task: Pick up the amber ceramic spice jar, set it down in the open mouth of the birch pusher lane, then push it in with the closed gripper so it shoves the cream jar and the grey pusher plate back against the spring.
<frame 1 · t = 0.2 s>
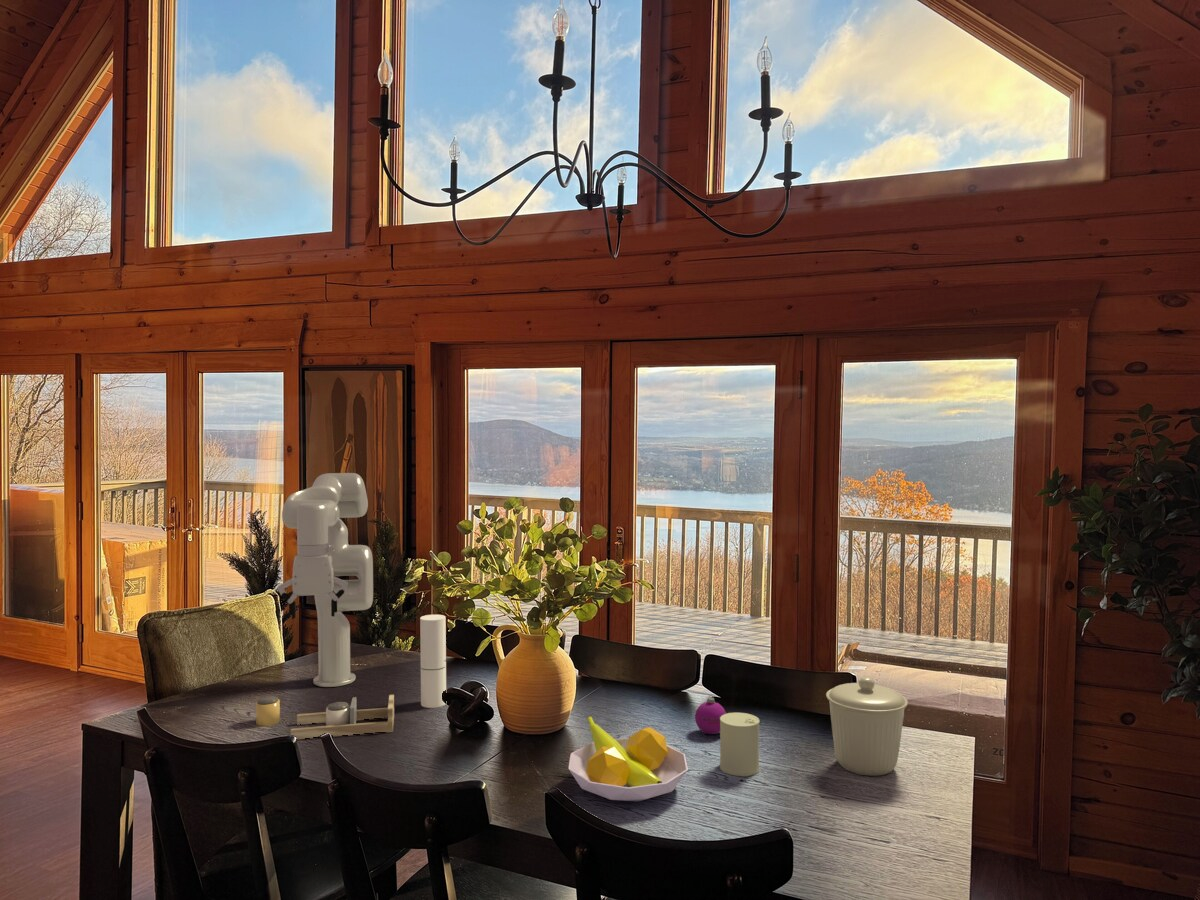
hand: (313, 616, 212), 31 cm above the table, fingers open, 9 cm apart
amber jar: (268, 722, 221), on the table
lane: (346, 727, 217), on the table
can: (739, 768, 191), on the table
cream jar: (338, 728, 217), on the table
fruit bowl: (626, 786, 182), on the table
cylindrical container: (433, 704, 236), on the table
christmas ornament: (710, 734, 213), on the table
canister: (865, 768, 191), on the table
pusher: (353, 713, 217), point 3 cm above the table, slide at 0.0 cm
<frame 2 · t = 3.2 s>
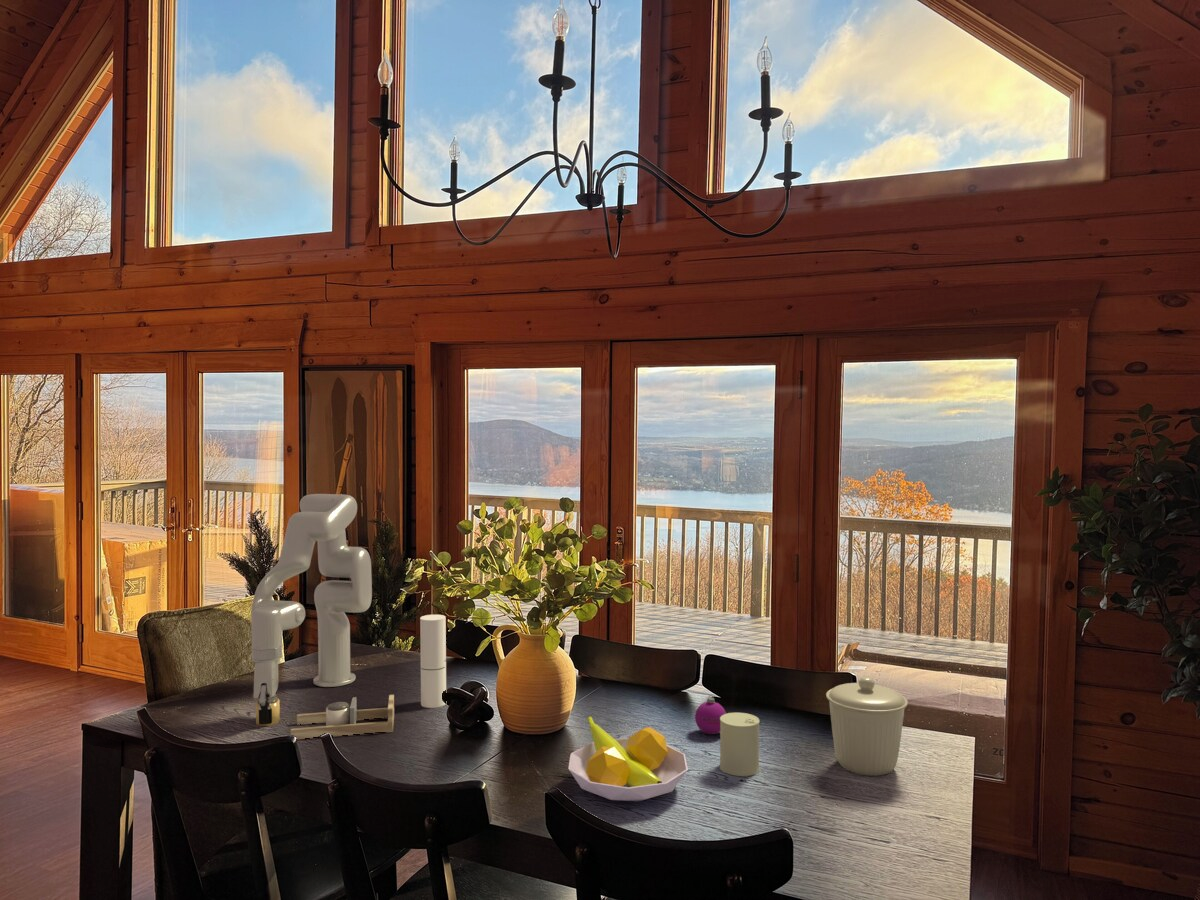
hand: (267, 718, 221), 1 cm above the table, fingers closed on amber jar, 6 cm apart
amber jar: (267, 721, 221), on the table, touching gripper
everything else where it was.
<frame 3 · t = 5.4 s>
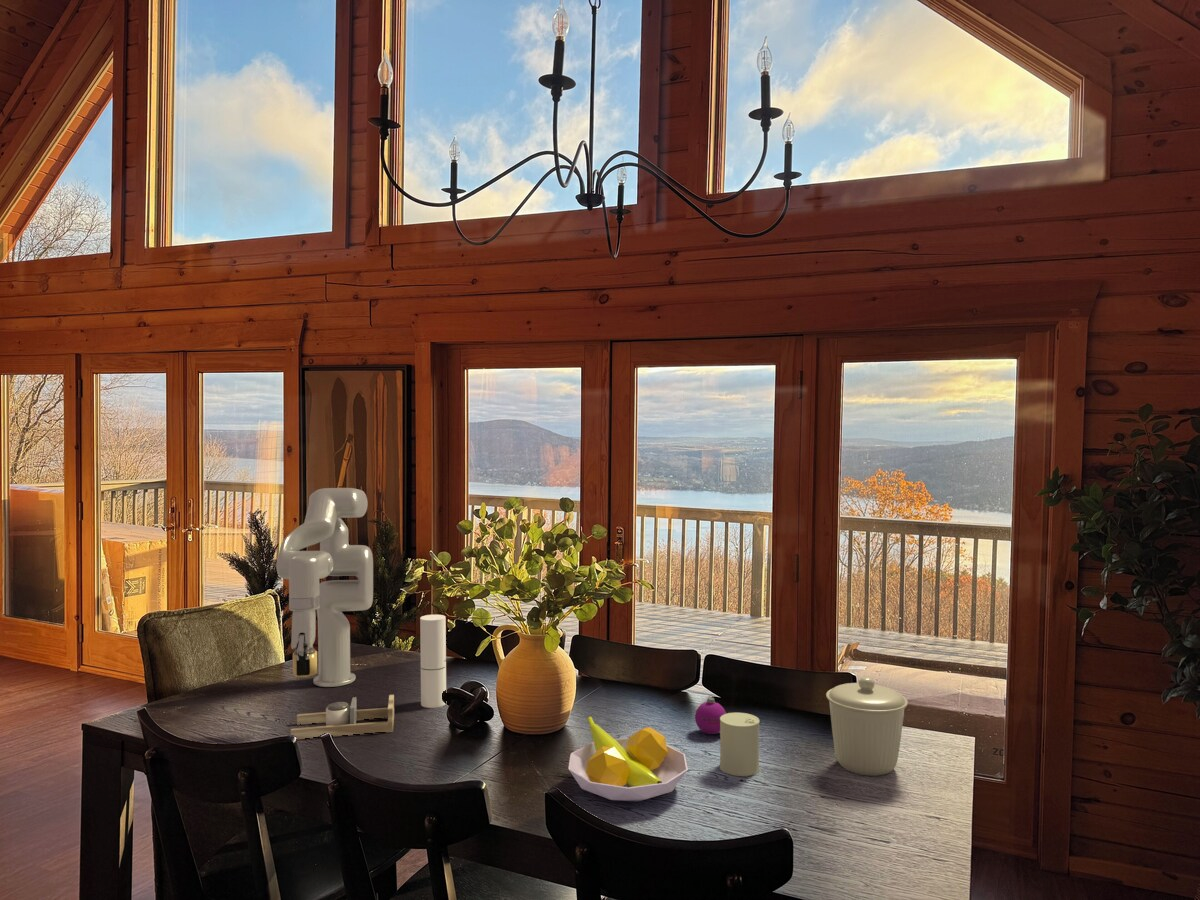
hand: (305, 670, 215), 16 cm above the table, fingers closed on amber jar, 6 cm apart
amber jar: (305, 673, 215), point 15 cm above the table, touching gripper
everything else where it was.
when the fingers open (3 cm above the table, at t = 7.4 s): amber jar drops 2 cm, on the table.
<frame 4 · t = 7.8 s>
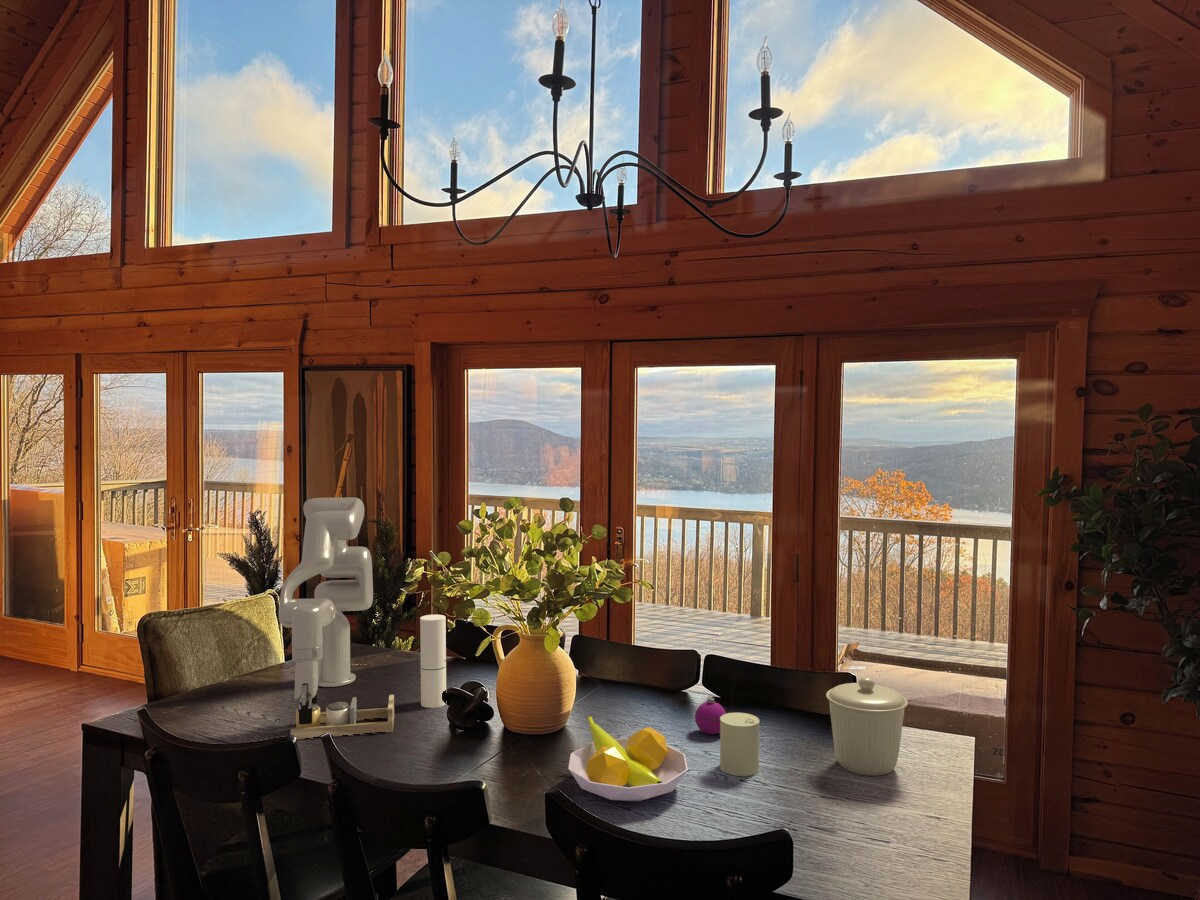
hand: (308, 717, 215), 3 cm above the table, fingers open, 9 cm apart
amber jar: (308, 730, 215), on the table
everything else where it was.
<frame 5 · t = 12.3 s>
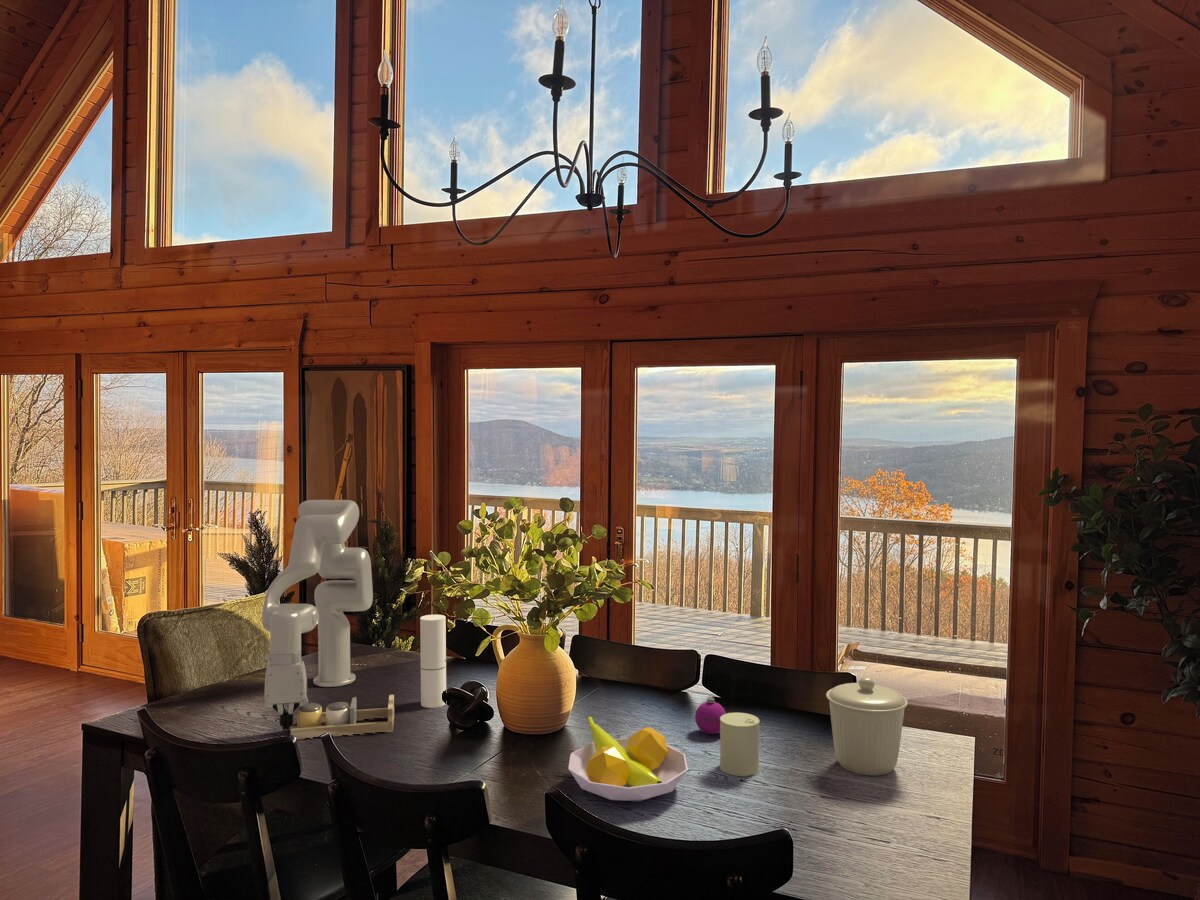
hand: (286, 727, 214), 1 cm above the table, fingers closed
amber jar: (309, 729, 215), on the table, touching gripper
everything else where it was.
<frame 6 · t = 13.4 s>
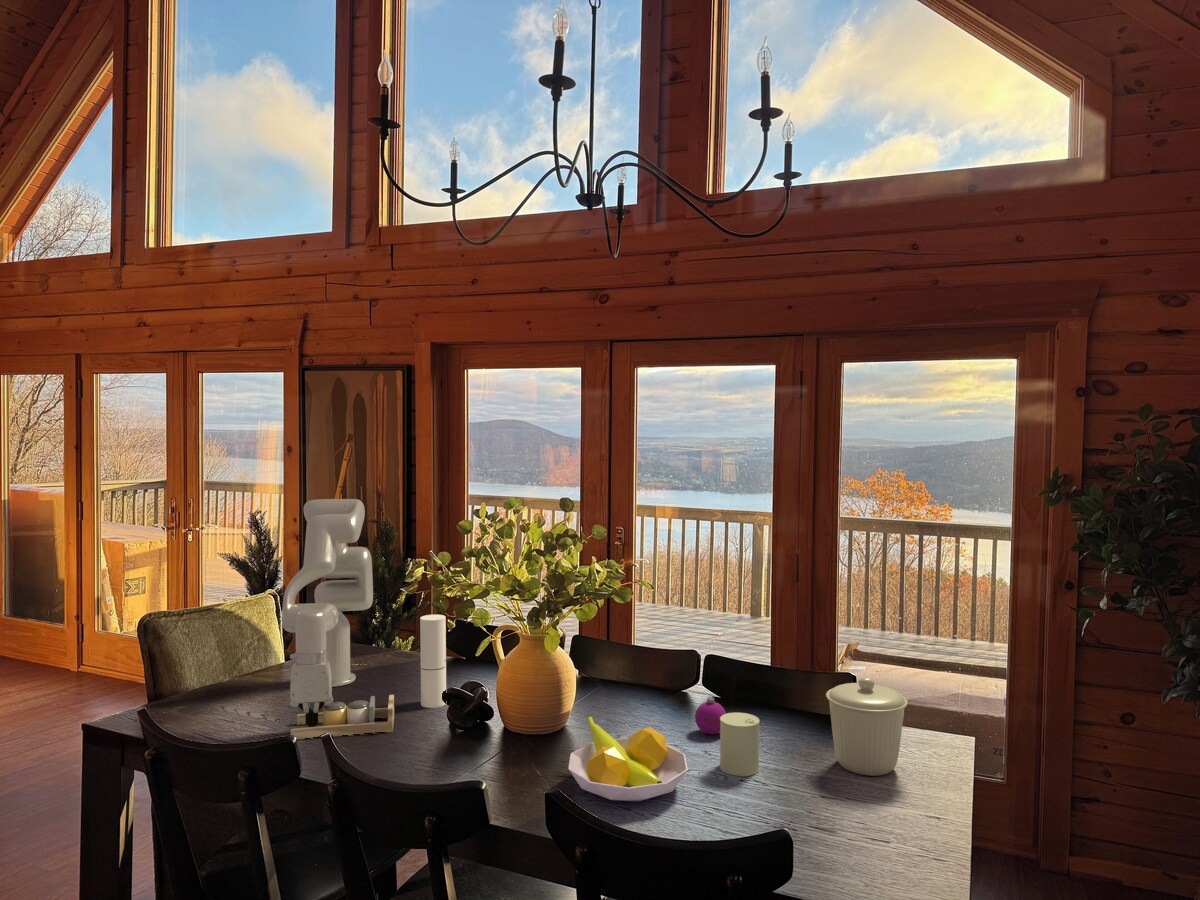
hand: (312, 726, 215), 1 cm above the table, fingers closed
amber jar: (335, 728, 216), on the table, touching cream jar, gripper
cream jar: (358, 726, 218), on the table, touching amber jar
pusher: (372, 712, 218), point 4 cm above the table, slide at 4.8 cm
everything else where it was.
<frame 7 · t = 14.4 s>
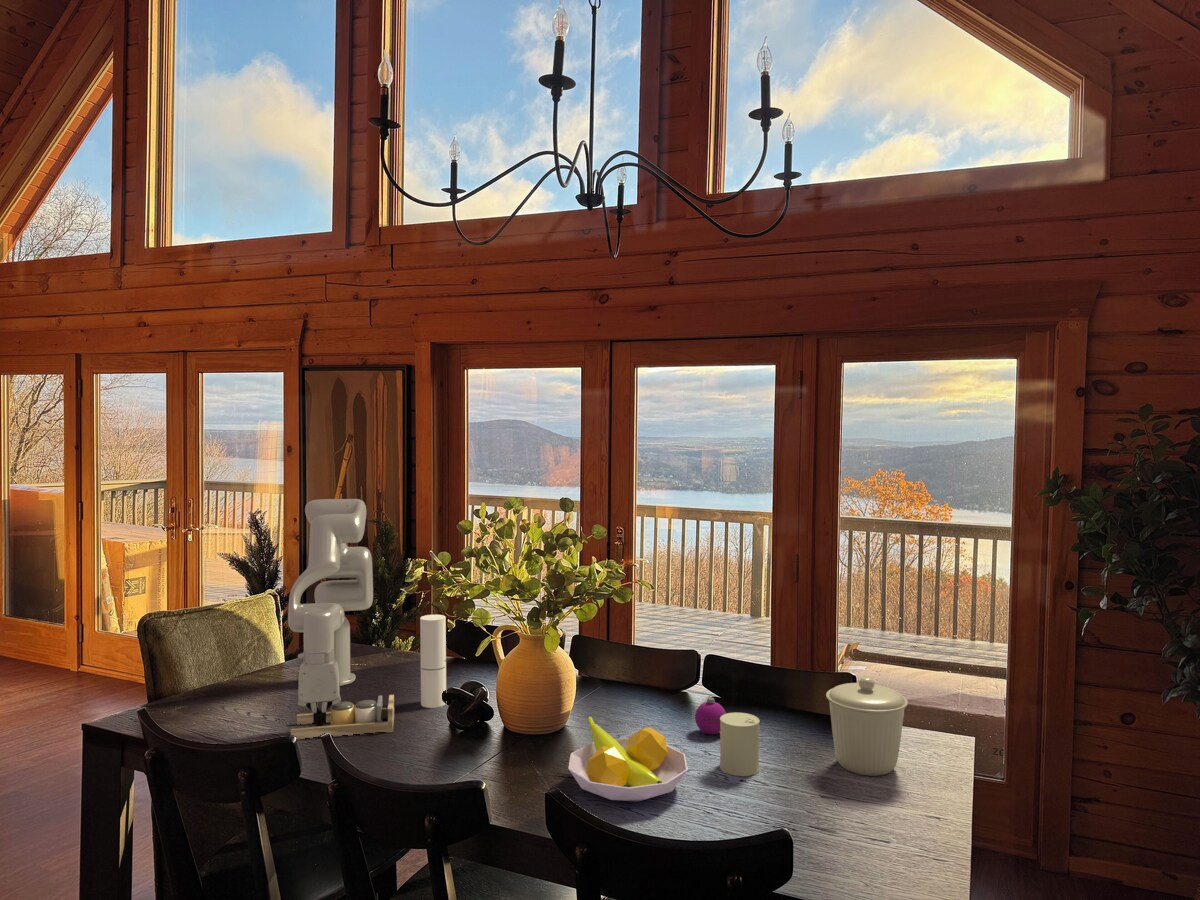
hand: (319, 726, 216), 1 cm above the table, fingers closed
amber jar: (342, 728, 217), on the table, touching cream jar, gripper
cream jar: (366, 726, 218), on the table, touching amber jar, pusher
pusher: (379, 711, 219), point 4 cm above the table, slide at 6.8 cm, touching cream jar
everything else where it was.
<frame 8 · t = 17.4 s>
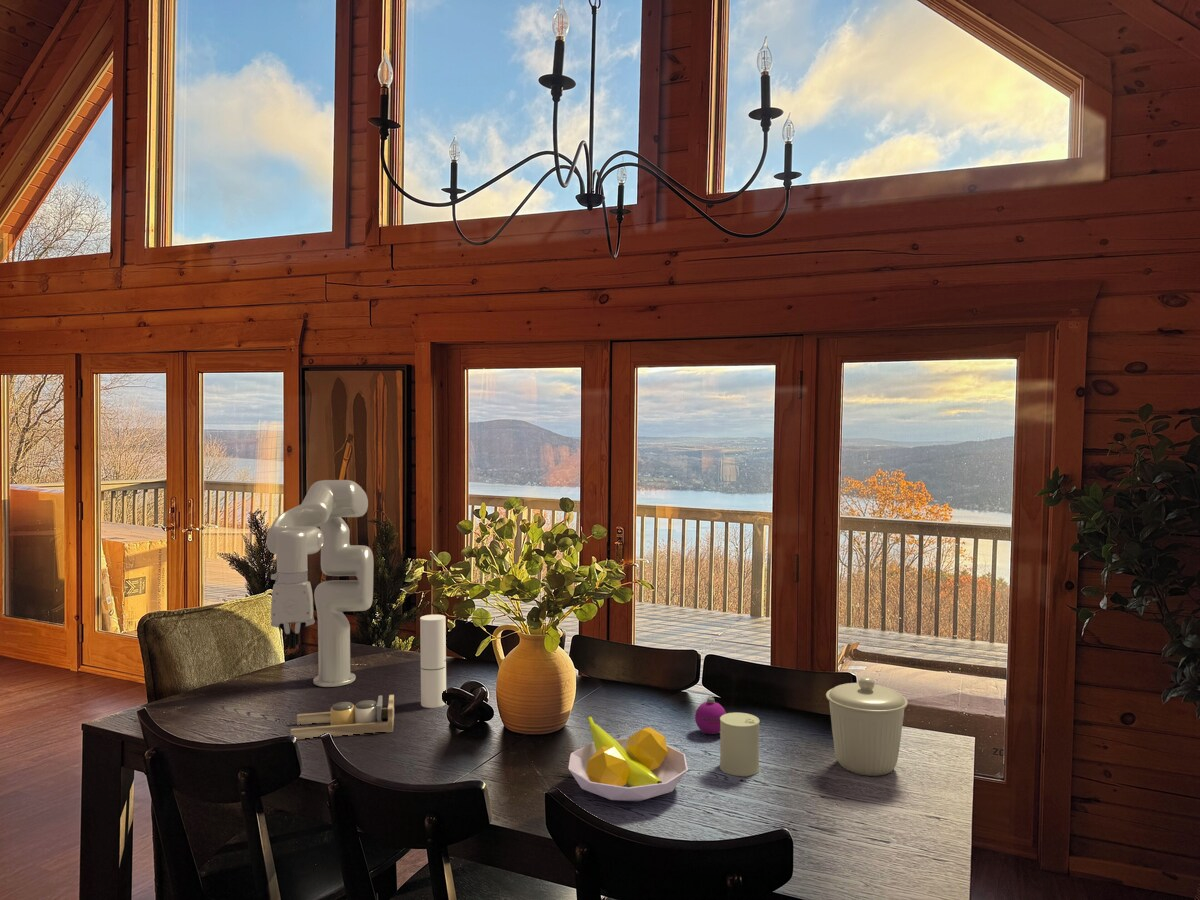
hand: (293, 647, 214), 22 cm above the table, fingers closed
amber jar: (342, 728, 217), on the table, touching cream jar
cream jar: (366, 726, 218), on the table, touching amber jar
pusher: (379, 711, 219), point 4 cm above the table, slide at 6.8 cm
everything else where it was.
at the end: amber jar inside the target area on the lane (1.7 cm from its centre), point 0.0 cm above the lane's base; amber jar tilted 0°; pusher slide at 6.8 cm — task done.
